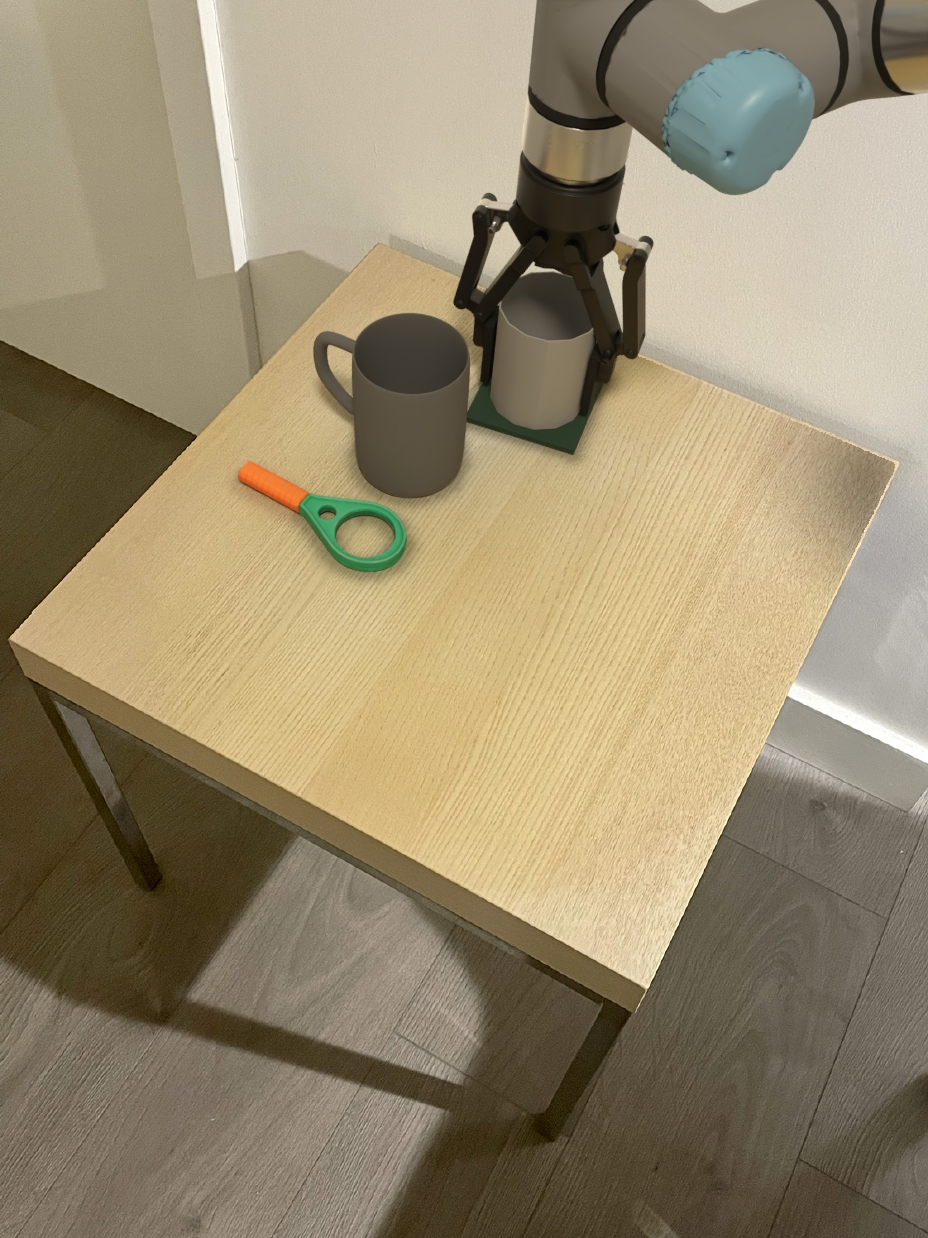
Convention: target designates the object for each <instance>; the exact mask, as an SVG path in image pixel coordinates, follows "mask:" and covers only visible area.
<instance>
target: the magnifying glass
mask: <svg viewBox="0 0 928 1238" xmlns="http://www.w3.org/2000/svg"><path fill="white" fill-rule="evenodd" d="M237 478H238V480H239V481H240V482H242V483H243V484H245V485H247V486H248V487H251V488H253V489H254V490H256V491H258V492H260V493H262V494H264V495H266V496H268V497H269V498H270V499H272V500H275V501H276V502H278V503H280V504H282V505H284V506H286V507H287V508H289V509H291V510H292V511H293V512H296V513H299V514H300V515H301V516H302V517H303V518H304V519H305V520H306V521H307V523H308V524H309V525H310V527H311V528H312V530H313V531H314V533H315V534H316V535H317V537H318V538H319V540H320V541H321V542H322V545H324V547H325V549H326V550H327V551H328V552H329V554H330V555H331V557H333V558H334V560H335V561H337V563H339V564H341V565H342V566H344V567H347V568H349V569H351V570H355V571H358V572H366V573H367V572H368V573H369V572H379V571H384V570H386V569H388V568H392V566H394V565H396V564H397V563H398V562H399V561H400V559H402V557H403V554H404V553H405V550H406V544H407V531H406V527H405V525H404V523H403V521H402V519H401V518H400V517H399V516H398V514H396V513H395V512H394V511H393V510H392V509H390V508H389V507H387V506H385V505H383V504H381V503H378V502H374V501H369V500H361V499H354V498H353V499H352V498H342V497H334V496H327V495H318V494H314V493H312V492H311V493H310V492H309V491H306V490H305V489H303V488H301V487H299V486H298V485H296V484H294V483H293V482H290V481H288V480H287V479H284V478H283V477H281V476H279V475H277V474H276V473H274V472H272V471H270V470H268V469H267V468H265V467H263V466H261V465H259V464H257V463H256V462H254V461H252V460H248V461H247V462H245V464H244V465H243V466H241V468H240V469H239V471H238V473H237ZM325 512H330V513H333V514H334V515H335V516H334V517H333V518H330V519H324V518H322V517H321V514H323V513H325ZM358 516H372V517H376V518H378V519H380V520H382V521H384V522H386V523H387V524H388V525H389V527H390V528H391V530H392V532H393V542H392V544H391V545H390V547H389V548H388V549H387V550H385V551H384V552H383V553H380V554H378V555H374V556H370V557H364V556H363V557H361V556H356V555H353V554H350V553H348V552H347V551H345V550H344V549H343V548H342V547H341V546H340V544H338V541H337V538H336V535H337V531H338V529H339V527H340V526H341V525H342V524H343V523H344V522H345V521H347V520H349V519H351V518H353V517H358Z"/></svg>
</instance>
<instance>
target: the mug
mask: <svg viewBox="0 0 928 1238" xmlns="http://www.w3.org/2000/svg"><path fill="white" fill-rule="evenodd" d="M329 346H332V347H334V348H338V349H340V350H343V351H344V352H347V353H349V354H351V391H352V392H351V394H352V395H350V393H349V392H348V391H347V390H346V388H344V386H343V385H342V384H341V383H340V381H339V380H338V379H337V377H336V376H335V375H334V373H333V371H332V370H331V368H330V367H331V366H330V363H329V359H328V348H329ZM312 349H313V350H312V354H313V362H314V369H315V371H316V374H317V377H318V378H319V380H320V381H321V383H322V384H323V386H324V387H325V388H326V390H327V391H328V392H329V393H330V395H331V396H332V398H334V400H335V401H336V402H337V403H338V404H339V406H341V407H342V408H343V409H344V410H345V411H346V412H347V413H348V414H350V415H352V416H353V431H354V444H355V456H356V461H357V464H358V467H359V470H360V472H361V474H362V475H363V477H364V478H365V480H366V481H367V482H368V483H369V484H370V485H371V486H372V487H374V488H375V489H377V490H378V491H380V492H383V493H385V494H387V495H390V496H393V497H397V498H405V499H416V498H417V499H418V498H424V497H428V496H431V495H434V494H436V493H438V492H440V491H442V490H444V489H445V488H447V487H448V486H449V485H450V484H451V483H452V482H453V481H454V479H455V478H456V477H457V476H458V474H459V472H460V470H461V466H462V461H463V458H464V453H465V452H464V451H465V443H466V432H467V423H468V422H467V411H468V409H469V394H470V378H471V353H470V349H469V345H468V343H467V340H466V339H465V337H464V336H463V335H462V333H461V331H459V330H458V329H457V328H456V327H455V326H453V325H452V324H450V323H449V322H448V321H445V320H443V319H441V318H439V317H436V316H433V315H430V314H425V313H419V312H400V313H395V314H390V315H386V316H382V317H381V318H378V319H376V320H374V321H372V322H371V323H369V324H368V325H367V326H366V327H364V328H363V329H362V330H361V332H359V334H358V335H357V337H356V339H353V338H351V337H349V336H347V335H343V334H341V333H338V332H335V331H330V330H324V331H321V332H320V333H318V335H316V337H315V339H314V342H313V347H312Z"/></svg>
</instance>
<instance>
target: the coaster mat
mask: <svg viewBox="0 0 928 1238" xmlns="http://www.w3.org/2000/svg"><path fill="white" fill-rule="evenodd" d="M491 383H492V377H491V379H490V381H489V383H488V384H485V383H482V382H481V383H480V386H479V388H478V390H477V392H476V393H475V396H474V397H473V400H472V401H471V403H470V406H468V411H467V422H466V423H469V424H473V425H475V426H479V427H483V428H484V429H489V430H492V431H495V432H498V433H501V434H504V435H508V436H511V437H514V438H518V439H521V440H523V441H528V442H530V443H533V444H537V445H540V446H543V447H546V448H550V449H552V450H556V451H560V452H563V453H566V454H570V455H572V456H573V455H574V454H575V452H576V450H577V448H578V445H579V442H580V441H581V438H582V436H583V433H584V430H585V428H586V426H587V424H588V421H589V419H590V417H591V414H592V411H593V409H594V407H595V404H596V402H597V400H598V397H599V394H600V393H601V390H602V387H603V385H604V384H603V383H600V382H599V383H598V388H597V392H596V395H595V398H594V400H593V403H592V405H591V407H590V410H589V412H588V414H583V413H580V412H579V413H578V414H577V416H576V417H575V418H574V420H573V421H571V422H568V423H566V424H564V425H562V426H560V427H558V428H555V429H539V430H533V429H530V428H526V427H523V426H519V425H515V424H513V423H512V422H510V421H509V420H507V419H506V418H505V417H503V416H502V415H501V414H499V413H498V412H497V410H496V408H495V406H494V404H493V402H492V400H491V399H490V392H491Z"/></svg>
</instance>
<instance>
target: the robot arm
mask: <svg viewBox="0 0 928 1238" xmlns="http://www.w3.org/2000/svg"><path fill="white" fill-rule="evenodd" d="M534 13H535V14H534V23H533V36H532V44H531V54H530V65H529V73H528V74H529V75H528V83H527V84H528V85H527V92H526V93H527V94H526V102H525V111H524V119H523V127H522V135H521V149H522V150H521V151H520V155H519V163H518V172H517V173H518V174H517V180H516V181H517V182H516V191H515V199H514V200H513V201H512V203H511V202H503V201H498V198H497V196H496V195H495V194H494V193H492V192H486V193H484V194H483V196H482V197H481V199H480V200H479V202H478V204H477V205H476V207H475V209H474V211H473V212H472V214H471V223H472V233H473V238H472V241H471V243H470V247H469V250H468V252H467V255H466V259H465V262H464V265H463V269H462V272H461V275H460V278H459V281H458V284H457V288H456V291H455V294H454V297H453V300H452V303H453V306H454V307H455V308H456V309H458V310H462V311H463V310H465V309H466V310H467V311H469V312H470V313H471V314H472V316H473V319H474V320H473V329H472V333H473V334H472V342H473V345H474V346H475V347H479V348H482V355H481V366H480V376H479V377H480V378H479V382H480V383H481V384H482V383H485V384H488V383H489V381H490V379H491V377H492V373H493V363H494V354H495V344H496V335H497V325H498V316H499V306H500V301H501V300H502V299H503V298H504V297H505V295H506V294H507V293H508V291H509V290H510V289H511V288H512V286H513V285H514V284H515V283H516V281H517V280H518V279H519V278H520V277H521V276H523V275H525V274H526V272H527V270H528V269H529V268H530V266H532V264H533V263H534V266H533V267H536V268H540V269H545V270H547V269H548V270H555V272H558V273H562V274H565V275H568V276H572V277H573V280H574V283H575V286H576V289H577V290H578V291H580V292H581V294H582V297H583V300H584V304H585V307H586V310H587V313H588V316H589V319H590V322H591V325H592V328H594V329H593V331H594V334H595V337H596V340H597V342H596V345H595V347H594V350H593V352H592V354H591V357H590V362H589V367H588V371H587V376H586V381H585V386H584V391H583V396H582V401H581V406H580V411H579V412H580V413H583V414H588V412H589V410H590V407H591V405H592V403H593V400H594V398H595V395H596V392H597V388H598V383H599V382H600V383H603V385H608V383H610V382H611V379H612V378H613V377H612V376H613V374H614V372H615V369H616V364H617V360H618V357H619V356H624V357H625V358H626V359H628V360H635V359H637V358H638V357H639V354H640V351H641V349H642V346H643V344H644V342H645V339H646V334H647V333H646V325H647V324H646V322H647V321H646V316H647V315H646V313H647V309H646V308H647V307H646V306H647V305H646V304H647V302H646V301H647V300H646V299H647V298H646V297H647V295H646V294H647V293H646V292H647V290H646V289H647V288H646V287H647V265H646V264H647V261H648V259H649V257H650V255H651V252H652V250H653V248H654V245H655V244H654V243H655V242H654V239H653V238H652V237H650V236H648V235H641V236H640V237H639V238H638V239H635V238H632V237H630V236H627V235H625V234H623V233H621V231H620V227H619V224H618V221H617V216H618V215H617V214H618V210H619V205H620V200H621V194H622V190H623V186H624V185H623V184H624V180H625V175H626V163H627V161H628V158H629V156H630V151H631V144H632V141H633V134H634V131H637V133H638V134H640V135H642V136H643V137H644V138H645V139H646V140H647V141H649V142H650V143H651V144H652V145H654V146H655V147H656V148H657V149H659V150H660V152H662V153H663V154H665V156H667V158H669V159H670V161H671V162H672V163H673V164H674V165H676V167H677V168H678V169H680V170H681V171H683V172H684V171H686V172H687V173H688V174H689V175H693V176H695V177H697V178H698V179H699V180H701V181H703V182H704V183H705V184H707V185H709V186H710V187H711V188H713V189H714V190H715V191H717V192H719V193H721V194H723V195H728V196H741V195H745V194H749V193H752V192H754V191H757V190H758V189H760V188H762V187H763V186H765V185H766V184H768V182H769V181H770V179H771V178H772V176H773V175H774V174H775V173H776V171H782V170H783V169H785V167H786V166H787V165H788V164H789V162H790V161H791V160H792V159H793V158H794V157H795V154H796V153H797V152H798V150H799V149H800V147H801V146H802V144H803V142H804V140H805V139H806V136H807V134H808V132H809V130H810V127H811V124H812V121H813V120H815V119H817V118H819V117H821V116H824V115H826V114H828V113H830V112H833V111H836V110H837V109H841V108H843V107H846V106H848V105H850V104H853V103H857V102H861V101H868V100H876V99H889V98H900V97H906V96H907V97H908V96H915V95H922V94H928V0H756V1H753V2H750V3H748V4H747V3H746V4H744V5H742V6H739V7H736V8H734V9H731V10H728V11H726V12H719V11H715V10H713V9H712V8H710V7H709V6H708V5H706V4H705V3H703V2H701V1H700V0H536V4H535V12H534ZM505 223H507V224H508V225H509V227H510V228H511V231H512V232H513V234H514V236H515V237H516V240H517V241H518V243H519V246H518V248H516V250H515V252H514V253H513V254H512V256H511V257H510V258H509V259H508V261H507V262H506V264H505V265H504V266H503V267H502V269H500V271H499V273H498V274H497V275H496V277H494V279H493V280H492V282H491V283H490V285H489V286H488V287H486V288H485V291H484V292H483V291H481V290H480V289H479V288H478V286H479V282H480V280H481V276H482V274H483V271H484V268H485V265H486V262H487V260H488V256H489V253H490V250H491V246H492V244H493V241H494V238H495V235H496V233H498V232H500V231H501V229H502V227H503V226H504V224H505ZM612 252H614V253H615V254H616V255H617V258H618V259H617V263H618V266H619V270H620V271H622V272H623V276H622V280H621V300H622V302H621V303H622V308H621V309H622V326H621V324H620V323H621V322H620V321H619V320H620V319H619V317H618V314H617V311H616V307H615V304H614V301H613V297H612V294H611V291H610V287H609V284H608V281H607V277H606V274H605V271H604V270H605V269H604V268H605V261H604V258H605V257H606V256H608V255H609V254H610V253H612Z"/></svg>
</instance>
